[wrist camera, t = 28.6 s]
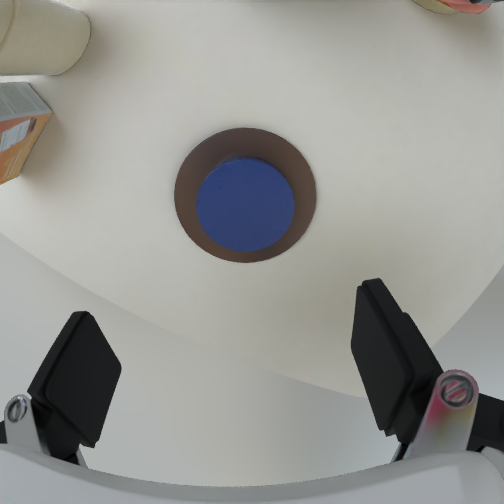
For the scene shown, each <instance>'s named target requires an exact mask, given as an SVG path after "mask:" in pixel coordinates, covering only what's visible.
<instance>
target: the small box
mask: <svg viewBox="0 0 504 504" xmlns="http://www.w3.org/2000/svg"><path fill="white" fill-rule="evenodd" d="M52 114H53V112H52V111H51V110H50V108H49V107H48V106H47V105H46V104H45V103H44V102H43V100H42V99H41V98H40V97H39V96H38V95H37V93H36V92H35V91H34V90H33V89H32V88H31V86H30V85H29V84H28V83H27V82H7V83H0V185H1V184H3V183H5V182H7V181H9V180H11V179H14V178H16V177H18V176H19V174H20V172H21V170H22V167H23V165H24V163H25V161H26V159H27V157H28V155H29V153H30V151H31V149H32V148H33V146H34V144H35V142H36V140H37V139H38V137H39V135H40V134H41V132H42V130H43V129H44V127H45V125H46V124H47V122H48V121H49V119H50V118H51V116H52Z"/></svg>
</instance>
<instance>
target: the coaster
mask: <svg viewBox="0 0 504 504" xmlns="http://www.w3.org/2000/svg"><path fill="white" fill-rule="evenodd" d="M237 156H254V157H259V158H262V159H264V160H266V161H269V162H270V163H272V164H273V165H275V166H276V167H277V168H278V169H279V170H280V171H281V172H282V173H283V175H284V176H285V178H286V180H287V182H288V184H289V186H290V188H291V190H292V193H293V197H294V199H295V201H294V215H293V218H292V221H291V224H290V226H289V228H288V229H287V231H286V232H285V234H284V235H283V236H282V237H281V238H280V239H279V240H278V241H276V242H275V243H274V244H272V245H270V246H268V247H266V248H264V249H261V250H257V251H251V252H240V251H234V250H230V249H227V248H225V247H223V246H221V245H219V244H217V243H216V242H215V241H213V240H212V239H211V238H210V237H209V236H208V235H207V234H206V232H205V231H204V230H203V228H202V226H201V224H200V222H199V219H198V216H197V210H196V201H197V195H198V192H199V189H200V187H201V185H202V183H203V181H204V180H205V178H206V177H207V175H208V174H209V173H210V171H211V170H212V169H213V168H214V167H215V166H217V165H218V164H219V163H221V162H223V161H225V160H227V159H229V158H232V157H237ZM174 200H175V207H176V212H177V215H178V218H179V220H180V223H181V225H182V227H183V228H184V230H185V232H186V233H187V234H188V236H189V237H190V238H191V239H192V240H193V241H194V242H195V243H196V244H197V245H198V246H199V247H201V248H202V249H203V250H205V251H206V252H208V253H210V254H211V255H213V256H216V257H218V258H221V259H224V260H227V261H233V262H241V263H249V262H258V261H263V260H267V259H270V258H273V257H275V256H277V255H279V254H281V253H283V252H284V251H286V250H287V249H289V248H290V247H291V246H293V245H294V244H295V243H296V242H297V241H298V240H299V239H300V238H301V236H302V235H303V234H304V233H305V231H306V229H307V228H308V226H309V224H310V222H311V219H312V217H313V213H314V210H315V204H316V188H315V182H314V178H313V174H312V172H311V170H310V167H309V165H308V164H307V162H306V160H305V159H304V157H303V156H302V155H301V154H300V152H299V151H298V150H297V149H296V148H295V147H294V146H292V145H291V144H290V143H289V142H287V141H286V140H285V139H283V138H281V137H279V136H277V135H275V134H273V133H271V132H268V131H265V130H260V129H255V128H235V129H230V130H225V131H222V132H220V133H217V134H215V135H213V136H211V137H209V138H207V139H206V140H204V141H203V142H201V143H200V144H199V145H198V146H197V147H195V148H194V149H193V150H192V151H191V153H190V154H189V155H188V156H187V158H186V159H185V161H184V162H183V164H182V166H181V168H180V170H179V173H178V175H177V179H176V183H175V191H174Z"/></svg>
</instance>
